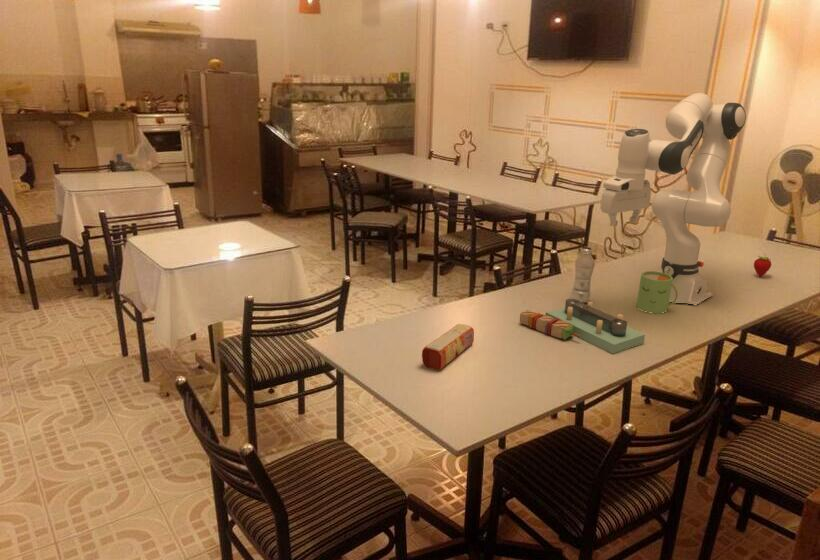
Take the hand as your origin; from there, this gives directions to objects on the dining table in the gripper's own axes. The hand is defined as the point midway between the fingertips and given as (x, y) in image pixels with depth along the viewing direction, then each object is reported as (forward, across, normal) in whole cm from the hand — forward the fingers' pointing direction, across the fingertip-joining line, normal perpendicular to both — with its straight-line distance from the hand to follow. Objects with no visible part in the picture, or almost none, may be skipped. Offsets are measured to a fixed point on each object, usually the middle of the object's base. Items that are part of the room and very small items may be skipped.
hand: (623, 224), depth 198 cm
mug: (+31, -16, +6) cm, 36 cm away
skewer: (+32, +30, +2) cm, 44 cm away
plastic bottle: (+31, +2, -12) cm, 34 cm away
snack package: (+32, +67, -2) cm, 74 cm away
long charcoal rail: (+28, +18, +8) cm, 34 cm away
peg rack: (+31, +18, +8) cm, 37 cm away
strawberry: (+31, -84, +5) cm, 90 cm away
